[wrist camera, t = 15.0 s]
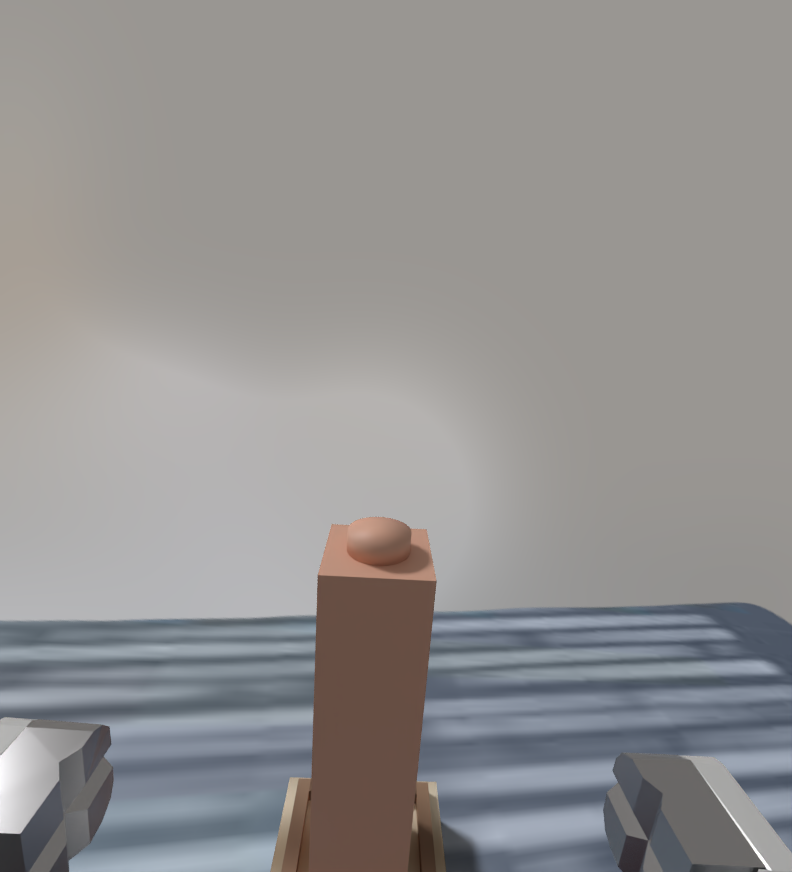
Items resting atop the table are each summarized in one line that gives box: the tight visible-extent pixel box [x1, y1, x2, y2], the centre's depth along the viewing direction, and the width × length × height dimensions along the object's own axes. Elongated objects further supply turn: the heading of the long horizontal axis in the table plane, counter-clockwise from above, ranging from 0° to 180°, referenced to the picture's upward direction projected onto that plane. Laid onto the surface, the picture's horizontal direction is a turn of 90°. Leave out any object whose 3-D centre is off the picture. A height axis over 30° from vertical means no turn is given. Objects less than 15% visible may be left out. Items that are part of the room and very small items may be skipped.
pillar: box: [309, 517, 436, 872], centre depth 24 cm, size 5×5×21 cm
